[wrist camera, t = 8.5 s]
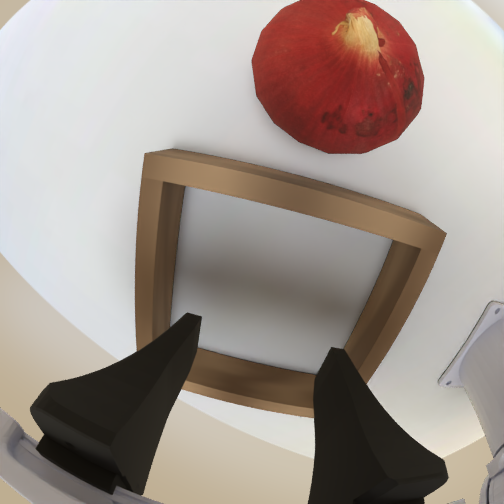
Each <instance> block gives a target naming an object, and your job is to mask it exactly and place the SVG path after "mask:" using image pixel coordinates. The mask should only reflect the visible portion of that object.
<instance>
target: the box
mask: <svg viewBox="0 0 504 504" xmlns="http://www.w3.org/2000/svg"><path fill="white" fill-rule="evenodd" d="M185 186H189V187H194V188H198V189H203V190H208V191H212V192H217V193H221V194H225V195H230V196H234V197H238V198H243V199H247V200H251V201H255V202H259V203H263V204H267V205H271V206H275V207H279V208H283V209H287V210H291V211H295V212H299V213H302V214H306V215H310V216H314V217H317V218H321V219H325V220H328V221H332V222H335V223H339V224H342V225H346V226H349V227H353V228H356V229H360V230H363V231H366V232H370V233H373V234H376V235H380V236H383V237H386V238H389V239H393V243H392V245H391V248H390V250H389V253H388V255H387V258H386V260H385V263H384V265H383V268H382V270H381V272H380V275H379V277H378V279H377V282H376V284H375V286H374V288H373V291H372V293H371V295H370V297H369V299H368V301H367V304H366V306H365V308H364V310H363V312H362V314H361V316H360V318H359V320H358V322H357V324H356V326H355V328H354V330H353V332H352V334H351V336H350V338H349V340H348V342H347V344H346V345H345V347H344V350H345V351H346V353H347V354H348V356H349V357H350V359H351V361H352V362H353V364H354V366H355V367H356V369H357V370H358V372H359V374H360V375H361V377H362V378H363V380H364V382H365V383H366V384H367V383H368V381H369V380H370V378H371V377H372V375H373V374H374V372H375V371H376V369H377V368H378V366H379V365H380V363H381V362H382V360H383V359H384V357H385V355H386V354H387V352H388V351H389V349H390V347H391V346H392V344H393V342H394V341H395V339H396V337H397V336H398V334H399V332H400V331H401V329H402V327H403V325H404V323H405V322H406V320H407V318H408V316H409V314H410V313H411V311H412V309H413V307H414V305H415V303H416V301H417V299H418V297H419V295H420V293H421V291H422V289H423V287H424V285H425V283H426V281H427V279H428V277H429V274H430V272H431V270H432V268H433V266H434V263H435V261H436V259H437V256H438V254H439V252H440V249H441V247H442V244H443V242H444V239H445V237H446V234H447V233H445V232H444V231H443V230H441V229H440V228H439V227H437V226H436V225H435V224H433V223H432V222H430V221H429V220H428V219H426V218H425V217H423V216H422V215H421V214H418V213H416V212H413V211H410V210H407V209H405V208H402V207H399V206H396V205H393V204H391V203H388V202H385V201H382V200H379V199H376V198H373V197H370V196H367V195H364V194H360V193H357V192H354V191H351V190H348V189H344V188H341V187H338V186H334V185H331V184H328V183H324V182H321V181H317V180H313V179H310V178H306V177H302V176H299V175H295V174H291V173H287V172H283V171H279V170H275V169H271V168H267V167H263V166H258V165H254V164H250V163H245V162H241V161H236V160H231V159H226V158H222V157H217V156H211V155H206V154H201V153H195V152H190V151H184V150H178V149H167V150H161V151H155V152H149V153H145V155H144V162H143V170H142V178H141V187H140V197H139V208H138V221H137V237H136V259H135V323H136V346H137V351H138V350H140V349H141V348H143V347H144V346H146V345H147V344H149V343H150V342H152V341H153V340H155V339H156V338H157V337H159V336H160V335H161V334H162V333H164V332H165V331H166V330H168V329H169V328H170V317H171V303H172V291H173V279H174V269H175V259H176V250H177V242H178V233H179V226H180V218H181V211H182V204H183V197H184V190H185ZM315 377H316V375H313V374H307V373H302V372H296V371H291V370H286V369H281V368H276V367H272V366H267V365H263V364H258V363H254V362H250V361H245V360H241V359H237V358H233V357H229V356H226V355H222V354H218V353H214V352H211V351H207V350H204V349H200V348H197V353H196V356H195V359H194V362H193V364H192V367H191V370H190V372H189V375H188V377H187V379H186V381H185V383H184V385H183V387H182V389H183V390H186V391H190V392H193V393H196V394H200V395H203V396H207V397H210V398H214V399H218V400H222V401H226V402H230V403H234V404H238V405H243V406H247V407H252V408H257V409H261V410H267V411H272V412H277V413H283V414H289V415H295V416H302V417H309V418H314V407H313V392H314V380H315Z"/></svg>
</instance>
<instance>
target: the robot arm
mask: <svg viewBox="0 0 504 504" xmlns="http://www.w3.org/2000/svg"><path fill="white" fill-rule="evenodd" d="M201 320H202V317H201V316H198V315H194V314H191V313H186V314H185V315H183V316H182V317H181V318H180V319H179V320H178V321H177V322H176V323H175V324H174V325H172V326H171V327H170V328H169V329H168V330H166V331H165V332H164V333H162V334H161V335H160V336H159V337H157V338H156V339H155V340H153V341H152V342H150V343H149V344H147V345H146V346H144V347H143V348H141V349H140V350H138V351H137V352H135V353H133V354H132V355H130V356H128V357H126V358H124V359H123V360H121V361H119V362H117V363H114V364H112V365H110V366H108V367H106V368H103V369H101V370H98V371H95V372H93V373H89V374H86V375H83V376H80V377H77V378H73V379H68V380H64V381H59V382H53V383H50V384H49V385H48V386H47V387H46V388H45V389H44V390H43V391H42V392H41V393H40V395H39V396H38V398H37V399H36V400H35V402H34V403H33V404H32V406H31V407H30V412H31V415H32V416H33V419H34V420H35V422H36V423H37V425H38V426H39V427H40V429H41V430H42V432H43V433H44V436H43V437H42V439H41V440H40V442H37V441H36V440H35V439H33V438H32V437H30V436H29V435H28V434H26V433H25V432H24V430H23V429H22V427H21V426H20V425H19V423H18V422H17V421H16V420H14V419H13V418H12V417H11V416H10V415H8V414H7V413H6V412H5V411H4V410H2V409H1V408H0V478H1V479H2V480H4V481H5V482H6V483H7V484H8V485H9V486H10V487H12V488H13V489H14V490H15V491H17V492H18V493H19V494H20V495H22V496H23V497H24V498H26V499H27V500H28V501H29V502H31V503H32V504H163V503H160V502H157V501H154V500H151V499H149V498H146V497H143V496H141V495H143V493H144V489H145V486H146V482H147V479H148V475H149V471H150V469H151V465H152V462H153V459H154V456H155V452H156V449H157V447H158V444H159V441H160V437H161V435H162V432H163V429H164V426H165V423H166V420H167V418H168V416H169V413H170V411H171V409H172V407H173V405H174V403H175V401H176V399H177V397H178V395H179V393H180V391H181V389H182V387H183V385H184V383H185V381H186V379H187V377H188V375H189V372H190V370H191V367H192V364H193V362H194V359H195V356H196V353H197V347H198V340H199V333H200V326H201ZM438 384H439V386H440V387H464V388H465V390H466V392H467V394H468V396H469V399H470V401H471V403H472V405H473V407H474V410H475V412H476V414H477V417H478V419H479V421H480V424H481V426H482V429H483V431H484V434H485V436H486V439H487V441H488V444H489V447H490V450H491V452H492V455H493V458H494V459H493V460H492V461H491V462H490V463H488V464H487V466H486V467H487V469H488V473H489V475H488V476H487V477H486V479H485V480H484V483H483V485H482V488H481V493H480V500H479V504H504V304H502V303H498V302H495V301H493V302H491V303H490V304H489V305H488V306H487V308H486V310H485V311H484V313H483V315H482V317H481V318H480V320H479V322H478V324H477V325H476V327H475V329H474V330H473V332H472V333H471V335H470V337H469V338H468V340H467V341H466V343H465V344H464V346H463V347H462V349H461V350H460V352H459V353H458V355H457V356H456V357H455V359H454V360H453V362H452V363H451V364H450V366H449V367H448V369H447V370H446V371H445V373H444V374H443V375H442V377H441V378H440V379H439V381H438ZM313 407H314V426H315V458H314V468H313V476H312V484H311V489H310V495H309V500H308V504H424V503H425V502H424V497H425V496H427V495H428V494H430V493H432V492H433V491H435V490H437V489H438V488H439V487H441V486H442V485H444V484H445V483H446V481H447V480H448V473H447V469H446V465H445V462H444V460H443V459H441V458H440V457H438V456H437V455H435V454H434V453H432V452H430V451H429V450H427V449H426V448H425V447H423V446H422V445H421V444H419V443H418V442H417V441H416V440H414V439H413V438H412V437H411V436H410V435H409V434H408V433H406V432H405V431H404V430H403V429H402V428H401V427H400V426H399V425H398V424H397V423H396V422H395V421H394V420H393V419H392V417H391V416H390V415H389V414H388V413H387V412H386V410H385V409H384V408H383V407H382V406H381V404H380V403H379V402H378V400H377V399H376V398H375V396H374V395H373V393H372V392H371V391H370V389H369V388H368V386H367V385H366V383H365V382H364V380H363V378H362V377H361V375H360V374H359V372H358V370H357V369H356V367H355V366H354V364H353V362H352V361H351V359H350V357H349V356H348V354H347V353H346V351H345V350H344V349H339V348H334V347H331V349H330V351H329V353H328V354H327V356H326V358H325V360H324V362H323V364H322V366H321V368H320V370H319V371H318V373H317V375H316V377H315V380H314V392H313ZM448 504H465V500H464V499H460V500H458V501H454V502H451V503H448Z"/></svg>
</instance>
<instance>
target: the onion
mask: <svg viewBox="0 0 504 504" xmlns="http://www.w3.org/2000/svg"><path fill="white" fill-rule="evenodd" d="M252 68H253V75H254V82H255V89H256V96H257V97H258V99H259V101H260V102H261V104H262V105H263V107H264V108H265V110H266V111H267V113H268V114H269V116H270V118H271V119H272V121H273V122H274V124H276V125H277V126H279V127H280V128H281V129H283V130H284V131H285V132H287V133H288V134H289V135H290V136H292V137H293V138H294V139H296V140H297V141H298V142H300V143H303V144H305V145H308V146H311V147H313V148H316V149H318V150H321V151H323V152H326V153H328V154H362V153H366V152H369V151H371V150H373V149H376V148H378V147H380V146H383V145H385V144H387V143H390V142H392V141H394V140H397V139H398V138H399V137H400V135H401V134H402V133H403V132H404V131H405V129H406V128H407V127H408V126H409V124H410V123H411V122H412V121H413V120H414V118H415V117H416V116H417V115H418V113H419V111H420V109H421V105H422V96H423V87H424V75H423V71H422V68H421V64H420V60H419V56H418V52H417V48H416V45H415V43H414V42H413V40H412V39H411V37H410V36H409V34H408V33H407V32H406V30H405V29H404V28H403V26H402V25H401V24H400V22H399V21H398V20H396V19H395V18H394V17H392V16H391V15H389V14H388V13H387V12H385V11H384V10H382V9H381V8H380V7H378V6H377V5H375V4H373V3H370V2H368V1H365V0H300V1H297V2H295V3H293V4H291V5H288V6H286V7H284V8H283V9H281V10H280V11H279V12H278V13H277V14H276V15H275V17H274V18H273V19H272V20H271V21H270V22H269V23H268V24H267V25H266V27H265V28H264V29H263V30H262V31H261V34H260V37H259V40H258V43H257V46H256V49H255V52H254V55H253V58H252Z"/></svg>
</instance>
